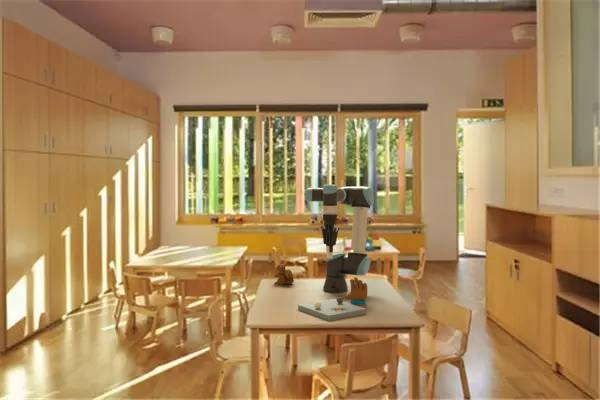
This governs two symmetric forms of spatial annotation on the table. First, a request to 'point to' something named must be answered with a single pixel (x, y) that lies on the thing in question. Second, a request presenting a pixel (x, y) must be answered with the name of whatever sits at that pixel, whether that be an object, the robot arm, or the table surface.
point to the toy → (357, 292)
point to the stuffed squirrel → (283, 275)
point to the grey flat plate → (332, 309)
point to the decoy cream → (317, 305)
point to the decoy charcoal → (339, 300)
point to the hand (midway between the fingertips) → (329, 258)
